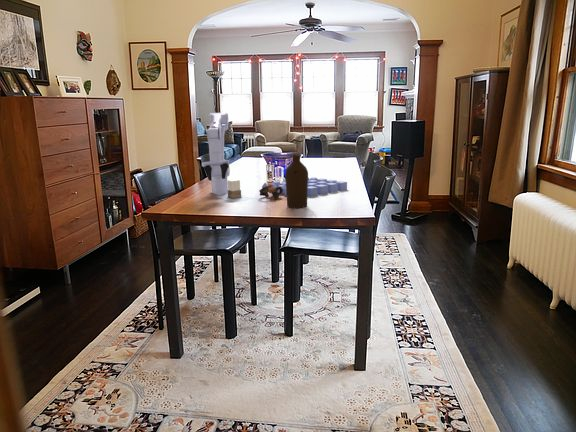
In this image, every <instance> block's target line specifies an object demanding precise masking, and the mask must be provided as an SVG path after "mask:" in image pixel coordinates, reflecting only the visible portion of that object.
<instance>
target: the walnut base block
mask: <svg viewBox="0 0 576 432" xmlns="http://www.w3.org/2000/svg"><path fill="white" fill-rule="evenodd" d="M227 195H228V198H231V199H235V198H241V195H242V190H241V189H240V190H237V191H230V190H228V194H227Z"/></svg>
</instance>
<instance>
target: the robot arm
mask: <svg viewBox="0 0 576 432" xmlns="http://www.w3.org/2000/svg"><path fill="white" fill-rule="evenodd" d="M208 114H209V118H208V120H209V128H208V129H206V137H207V144H208V149H209V150H208V151H209V161H203V162H201V167H202V169H203V170H204V172H205V173H206V176H207V180H208V181H211V182H210V183H211V191H210V194H214V195H218V196H223V195H228V177H229V176H230V170H231V169H230V163H231V162H230V160H229V159H225V134H226V131H227V130H228V129H229V114H228V112H226V111H225V112H210V113H208Z"/></svg>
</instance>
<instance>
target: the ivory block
mask: <svg viewBox="0 0 576 432" xmlns="http://www.w3.org/2000/svg"><path fill="white" fill-rule="evenodd" d="M227 182H228V190H230V191H237V190H241V181H240V179H227Z"/></svg>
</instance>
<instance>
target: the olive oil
mask: <svg viewBox="0 0 576 432" xmlns="http://www.w3.org/2000/svg"><path fill="white" fill-rule="evenodd" d="M284 174H285V175H284V180H285V179H286V193H287V196H286V206H287V208H290V209H303V208H307V207H308V196H307V190H308V178H309V171H308V168H307V167H306V166H305V164H303V162H302V161H301V155H300V152H292V161H291V163H289V165H288V166H287V167H286V169H285V173H284Z"/></svg>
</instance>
